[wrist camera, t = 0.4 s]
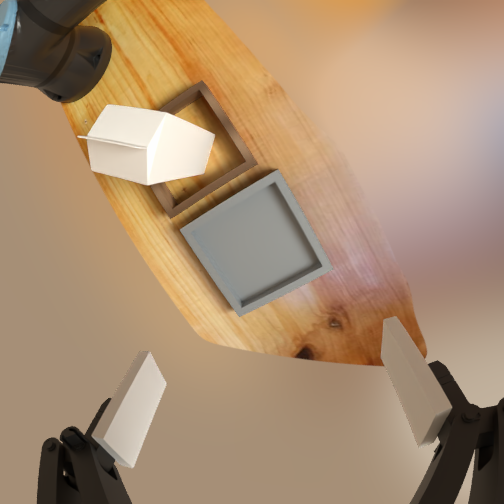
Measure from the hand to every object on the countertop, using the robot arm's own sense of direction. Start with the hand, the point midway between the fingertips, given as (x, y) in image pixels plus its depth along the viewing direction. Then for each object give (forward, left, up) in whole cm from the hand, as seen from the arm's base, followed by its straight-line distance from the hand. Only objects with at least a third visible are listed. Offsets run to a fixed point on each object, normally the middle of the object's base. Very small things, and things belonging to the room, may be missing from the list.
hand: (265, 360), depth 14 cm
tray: (+1, -3, -27) cm, 27 cm away
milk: (-16, -4, -28) cm, 32 cm away
